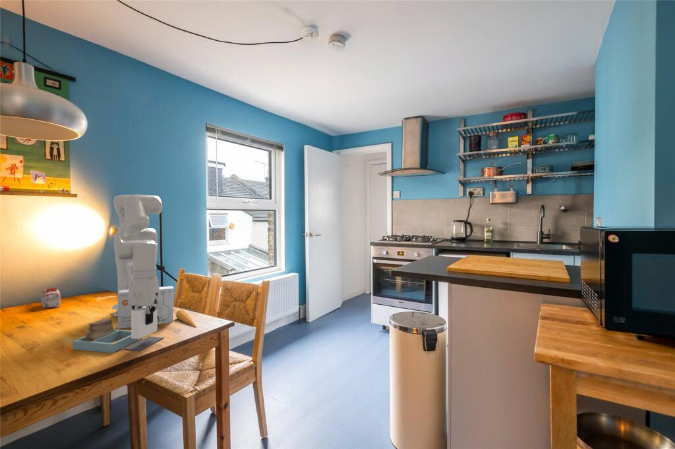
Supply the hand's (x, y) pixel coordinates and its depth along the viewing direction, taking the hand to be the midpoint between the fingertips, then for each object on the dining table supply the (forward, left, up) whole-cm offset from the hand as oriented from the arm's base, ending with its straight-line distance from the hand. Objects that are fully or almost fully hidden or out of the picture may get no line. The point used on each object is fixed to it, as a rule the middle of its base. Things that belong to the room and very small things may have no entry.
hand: (144, 322), depth 118 cm
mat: (0, 0, -8) cm, 8 cm away
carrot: (0, +25, -8) cm, 26 cm away
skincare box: (-16, +20, -8) cm, 27 cm away
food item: (-87, +36, -8) cm, 95 cm away
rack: (-13, -2, -8) cm, 16 cm away
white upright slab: (0, 0, -4) cm, 4 cm away
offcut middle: (-17, -2, -5) cm, 18 cm away
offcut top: (-17, -2, -2) cm, 17 cm away
